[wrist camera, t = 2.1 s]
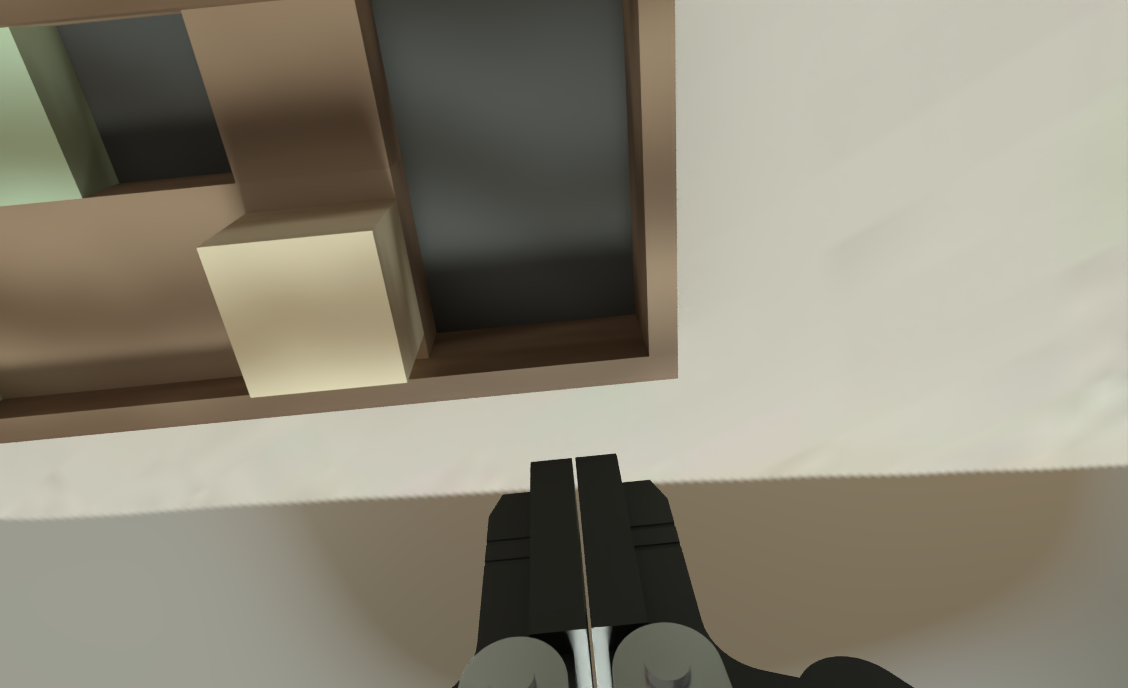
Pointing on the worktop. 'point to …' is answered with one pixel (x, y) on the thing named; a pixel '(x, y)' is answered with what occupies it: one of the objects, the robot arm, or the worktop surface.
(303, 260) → the birch block
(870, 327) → the worktop surface
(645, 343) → the channel
